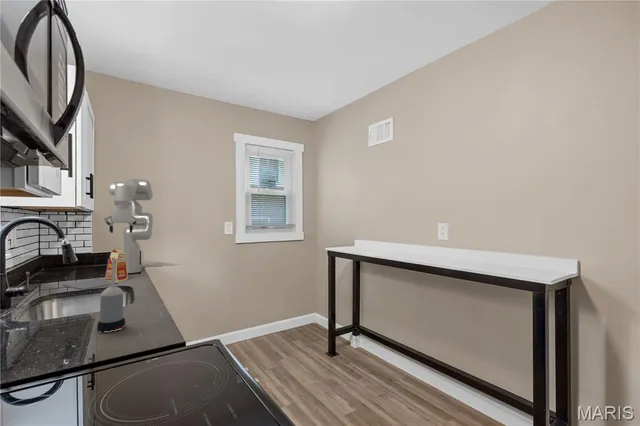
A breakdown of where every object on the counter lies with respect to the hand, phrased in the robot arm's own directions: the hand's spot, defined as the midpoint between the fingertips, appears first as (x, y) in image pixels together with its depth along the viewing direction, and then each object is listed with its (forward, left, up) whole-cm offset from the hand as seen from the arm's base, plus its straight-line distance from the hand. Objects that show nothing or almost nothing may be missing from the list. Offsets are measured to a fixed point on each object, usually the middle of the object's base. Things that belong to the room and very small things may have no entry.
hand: (121, 232), depth 187 cm
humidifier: (+49, +76, -29) cm, 95 cm away
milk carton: (-1, -4, -29) cm, 30 cm away
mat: (+14, -4, -29) cm, 32 cm away
